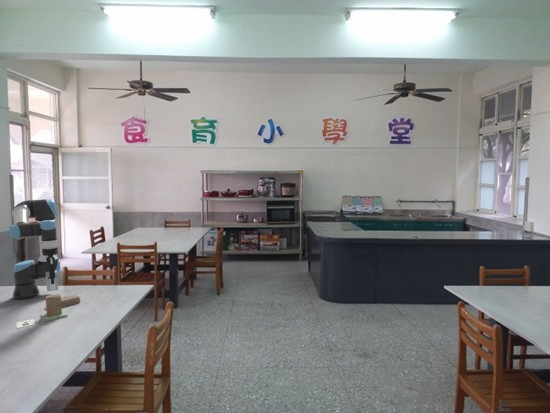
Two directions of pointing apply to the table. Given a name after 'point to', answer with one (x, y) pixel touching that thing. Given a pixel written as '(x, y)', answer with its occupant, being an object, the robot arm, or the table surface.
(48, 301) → the walnut block
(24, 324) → the page
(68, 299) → the brick
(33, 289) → the robot arm
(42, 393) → the table surface
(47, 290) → the bluegrey block
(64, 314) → the pad
